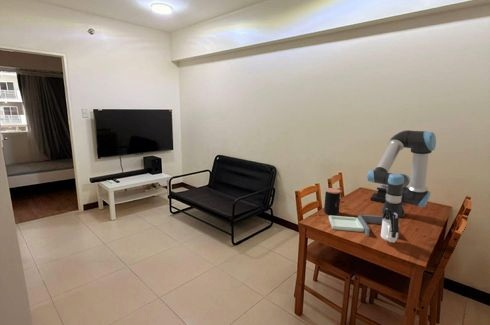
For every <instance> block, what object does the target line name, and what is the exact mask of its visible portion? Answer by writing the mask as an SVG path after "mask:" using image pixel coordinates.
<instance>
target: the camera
mask: <svg viewBox="0 0 490 325" xmlns="http://www.w3.org/2000/svg"><path fill="white" fill-rule="evenodd" d="M376 190H377V193H376V192H374V193H373V194H372V196H371V197H370V201H371V202H374V201H375V202H376V203H379V202H380V204H384V203H385V200H386V197H385V196H386V192H387V185H384V184H380V185H377V186H376ZM375 202H374V203H375Z"/></svg>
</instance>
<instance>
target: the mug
mask: <svg viewBox="0 0 490 325" xmlns="http://www.w3.org/2000/svg"><path fill="white" fill-rule="evenodd" d="M390 231H392V229H391V220H390V219H389V220H387V219H385V218H384V219H383V220H382V224H381V229H380V237H381V238H382V239H384V241H388V242H389V240H390V233H391V232H390ZM397 237H398V233H396V239H395V242H396V241H397V240H398V239H397Z"/></svg>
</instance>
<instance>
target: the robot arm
mask: <svg viewBox="0 0 490 325" xmlns="http://www.w3.org/2000/svg"><path fill="white" fill-rule="evenodd" d="M436 138H437V137H436V134H435V133H434V132H432V131H427V130H425V131H424V130H406V129H405V130H402V131H400V132H398V133H396V134H394V135H393V136H392V137H391V138H390V139H389V141H388V143H387V148H386V149H385V151H384V152H383V154H382V157H381V158H380V159H379V162H378V163H377V165H376V167H375V169H370V170H369V171H367V175H366V179H367V181H368V182H370V183H374V184H380V185H386V186H387V192H386V196H385V197H386V200H385V203H383V206H382V207H381V213H382V216H383V217H382V219H384V218H385V219H387V220H389V219H390V220H391V229H392V231H390V232H391V233H390V240H389V241H388V242H389V243H396V241H395V239H396V233H399V234H400V230H399V228H400V221H399V218H403V217H404V216H405V208H404V204H407V205H413V206H416V207H420V208H425V207H426V206H427V204H428V202H429V199H430V196H431V192H430V191H428V189H429V188H428V187H427V186H426V182H427V174H428V165H429V164H428V162H429V155H430V154H432V151H434V150H435V149H436V144H437V139H436ZM404 148H407V149H410V153H411V154H412V163H411V174H410V176H409V175H407V174H406V173H392V172H389V171H390V170H391V168H392V166H393V164H394V162H395V161H396V159H397V157H398V155H399V154H400V152H401V151H402V150H404Z"/></svg>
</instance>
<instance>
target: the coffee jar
mask: <svg viewBox="0 0 490 325" xmlns="http://www.w3.org/2000/svg"><path fill="white" fill-rule="evenodd" d="M341 191H342V190H341V189H339V188H335V187H328V188H326V189H325V196H324V207H323V212H324V213H325V214H326V215H328V216H338V215H339V213H340V204H341V203H340V202H341Z"/></svg>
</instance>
